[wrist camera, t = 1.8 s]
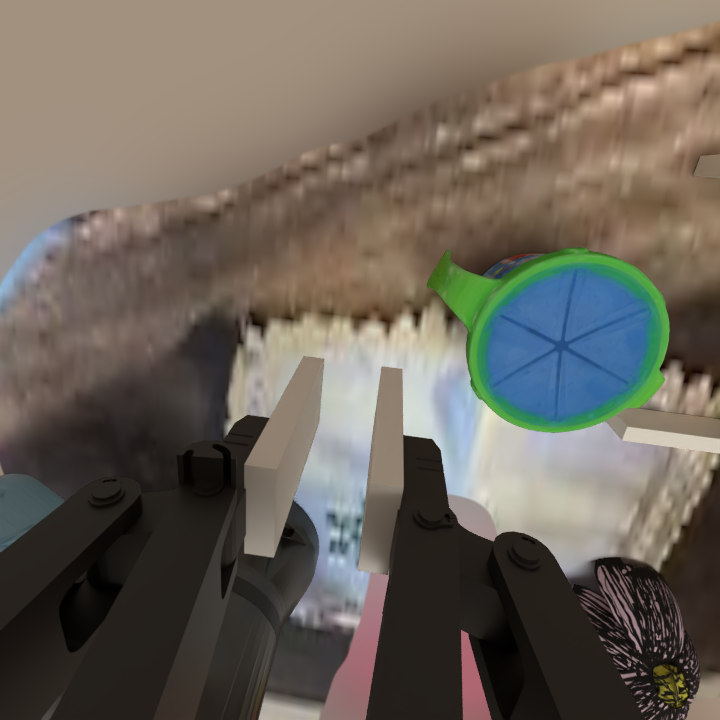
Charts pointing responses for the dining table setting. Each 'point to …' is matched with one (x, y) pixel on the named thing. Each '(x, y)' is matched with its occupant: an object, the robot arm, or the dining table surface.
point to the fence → (664, 424)
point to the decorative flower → (644, 637)
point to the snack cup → (558, 336)
